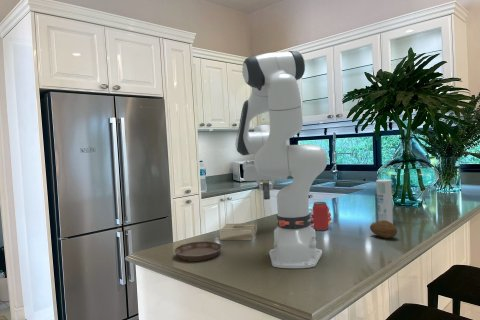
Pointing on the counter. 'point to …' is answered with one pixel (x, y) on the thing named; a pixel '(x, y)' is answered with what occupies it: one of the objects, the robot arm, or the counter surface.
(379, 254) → the counter surface
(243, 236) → the block
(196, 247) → the plant saucer
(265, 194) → the grey and gold cylinder
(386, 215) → the spray can
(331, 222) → the candy landscape model
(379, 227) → the potato
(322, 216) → the beer can
